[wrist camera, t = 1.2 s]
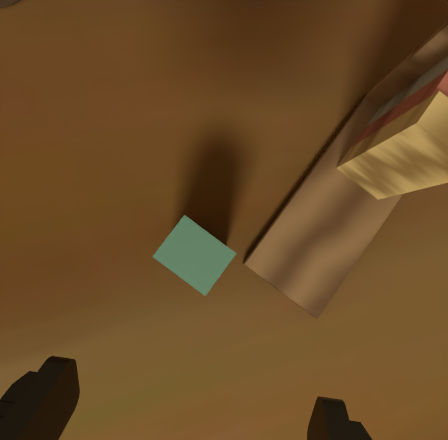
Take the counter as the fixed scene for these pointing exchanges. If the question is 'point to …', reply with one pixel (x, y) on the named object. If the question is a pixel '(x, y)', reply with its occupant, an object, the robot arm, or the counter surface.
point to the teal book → (194, 255)
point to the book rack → (361, 179)
